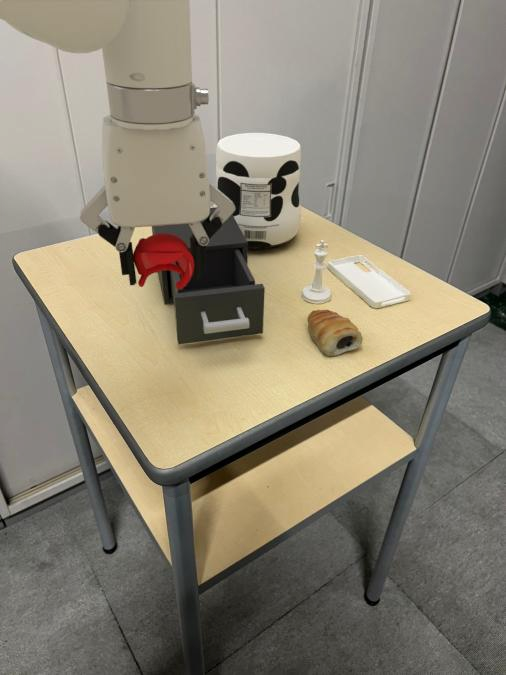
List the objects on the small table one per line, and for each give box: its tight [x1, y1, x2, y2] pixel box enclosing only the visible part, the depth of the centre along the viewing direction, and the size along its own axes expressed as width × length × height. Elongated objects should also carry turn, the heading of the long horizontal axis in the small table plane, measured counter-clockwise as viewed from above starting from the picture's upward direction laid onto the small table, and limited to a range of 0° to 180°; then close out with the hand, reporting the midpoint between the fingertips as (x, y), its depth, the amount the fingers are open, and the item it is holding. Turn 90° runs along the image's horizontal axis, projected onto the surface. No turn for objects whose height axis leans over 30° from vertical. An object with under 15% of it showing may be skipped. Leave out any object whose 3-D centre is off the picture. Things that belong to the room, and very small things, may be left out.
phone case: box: [327, 254, 411, 309], centre depth 89 cm, size 7×1×15 cm
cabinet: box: [151, 207, 249, 305], centre depth 87 cm, size 15×14×10 cm
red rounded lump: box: [133, 233, 194, 289], centre depth 56 cm, size 8×6×6 cm
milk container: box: [212, 132, 302, 249], centre depth 98 cm, size 17×17×18 cm
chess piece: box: [300, 239, 332, 305], centre depth 83 cm, size 5×5×10 cm
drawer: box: [169, 248, 266, 345], centre depth 76 cm, size 18×12×8 cm
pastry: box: [307, 309, 364, 357], centre depth 76 cm, size 9×7×4 cm
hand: (164, 274), depth 57 cm, fingers closed on red rounded lump, 6 cm apart
